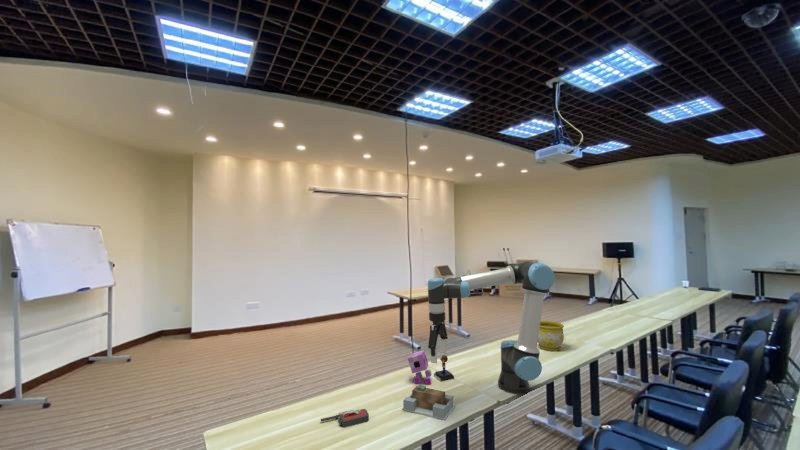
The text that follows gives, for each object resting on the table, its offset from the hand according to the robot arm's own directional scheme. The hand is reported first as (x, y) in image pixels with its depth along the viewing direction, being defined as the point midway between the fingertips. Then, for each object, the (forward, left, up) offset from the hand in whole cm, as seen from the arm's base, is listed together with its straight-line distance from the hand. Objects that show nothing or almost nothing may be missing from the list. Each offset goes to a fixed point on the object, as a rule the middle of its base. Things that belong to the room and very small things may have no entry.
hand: (439, 357), depth 160 cm
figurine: (+8, -28, -21) cm, 36 cm away
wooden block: (+3, +7, -20) cm, 21 cm away
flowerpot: (-41, -105, -21) cm, 115 cm away
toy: (+18, -19, -21) cm, 33 cm away
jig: (+3, +7, -21) cm, 22 cm away
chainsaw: (+30, +32, -21) cm, 49 cm away
